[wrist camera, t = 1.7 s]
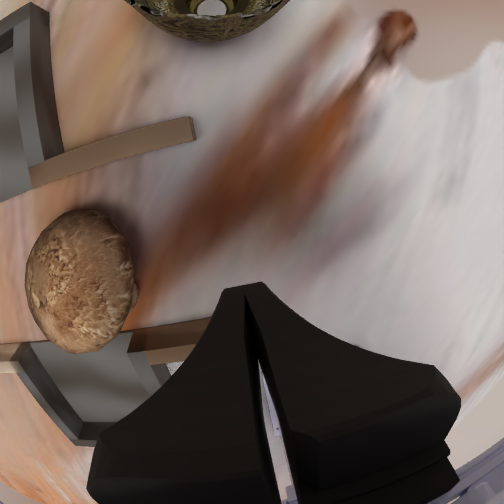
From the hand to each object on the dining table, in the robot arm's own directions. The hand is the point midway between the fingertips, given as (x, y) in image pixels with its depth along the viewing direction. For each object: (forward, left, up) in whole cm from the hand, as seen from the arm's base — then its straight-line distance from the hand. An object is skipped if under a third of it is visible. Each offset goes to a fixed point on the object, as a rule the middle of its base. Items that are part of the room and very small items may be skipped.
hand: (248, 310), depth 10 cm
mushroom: (0, +9, -9) cm, 12 cm away
